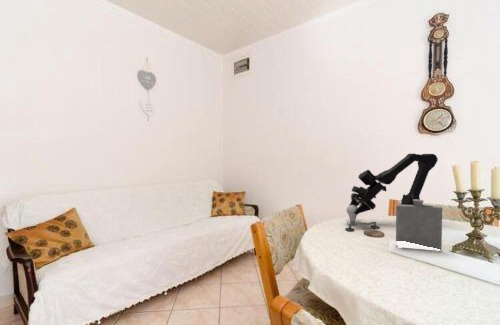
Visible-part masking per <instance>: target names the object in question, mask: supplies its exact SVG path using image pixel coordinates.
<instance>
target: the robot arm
mask: <svg viewBox="0 0 500 325" xmlns="http://www.w3.org/2000/svg"><path fill="white" fill-rule="evenodd" d="M414 162H417V167H418V169H417V172H416V173H415V177H414V178H413V179H414V180H413V182H412V183H411V187H410V190H409V192H408V193H407V194H402V198H401V199H400V202H401V203H400V205H414V202H413V200H414V199H418V200H421V199H420V197H421V196H420V195H421V192H422V190H423V187H424V185H425V184H426V181H427V177H428V174H429V173H430V171H431V170H432V169H433V168H434V167H435V166H436V164H437V163H438V156H437V155H436V154H434V153H421V154H419V153H418V154H417V153H408V154H406V156H404V158H402V159H400V160H399V161H398V162H397V163H395V164H394V165H393V166H392V167H390V168H388V169H386V170H384V171H381V172H379V173H378V174H377V175H376V174H375V175H374V174H373V173H372V171H371V170H370V169H366V170H365V171H363V172H361V173H360V174H359V175H358V180H360V181H361V182H362V183H363V184H364V185H365V186H368V187H366V188H365V187H363V186H355V185H353V187H352V189H351V192H352V193H351V194H350V200H351V201H350V202H349V205H348V206H350V205H355V206H357V207H358V209H357V210H356V211H355V212H354V213H355V214H358V215H359V214H360V213H361V214H362V213H364V212H365V213H366V212H368V211H373V210H375V209H376V206H377V205H376V203H374V201H372V200H373V199H376V198H377V195H378V194H379V193H380V192H382V191H383V192H387V186H386V185H391V184H392V183H393V182H394V181H395V180H396V178H397V176H398V175H399V174H400V173H401V172H403V171H404V170H405V169H407V168H408V167H409V166H411V165H412V164H414Z"/></svg>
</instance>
